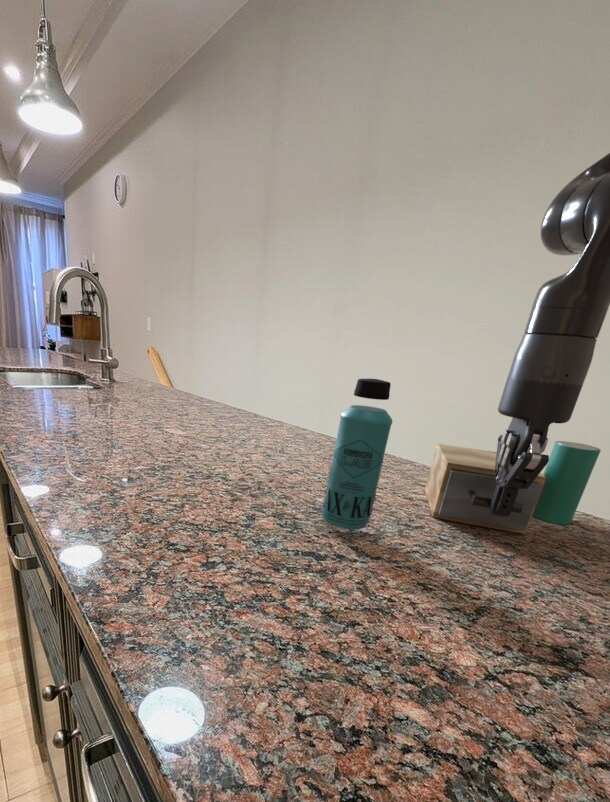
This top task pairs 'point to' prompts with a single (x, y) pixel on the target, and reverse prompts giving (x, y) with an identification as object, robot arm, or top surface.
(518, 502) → the drawer
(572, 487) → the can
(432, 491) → the cabinet
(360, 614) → the top surface
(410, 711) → the top surface
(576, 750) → the top surface
